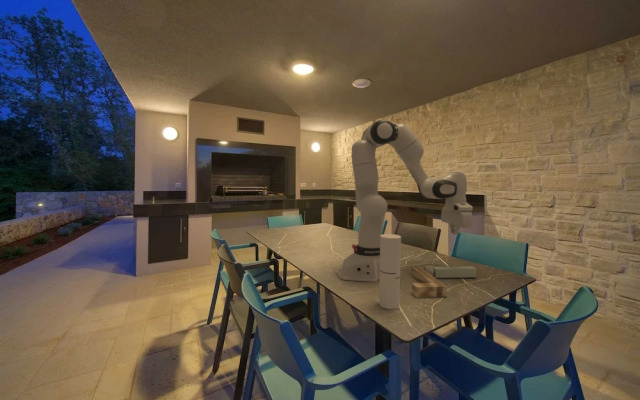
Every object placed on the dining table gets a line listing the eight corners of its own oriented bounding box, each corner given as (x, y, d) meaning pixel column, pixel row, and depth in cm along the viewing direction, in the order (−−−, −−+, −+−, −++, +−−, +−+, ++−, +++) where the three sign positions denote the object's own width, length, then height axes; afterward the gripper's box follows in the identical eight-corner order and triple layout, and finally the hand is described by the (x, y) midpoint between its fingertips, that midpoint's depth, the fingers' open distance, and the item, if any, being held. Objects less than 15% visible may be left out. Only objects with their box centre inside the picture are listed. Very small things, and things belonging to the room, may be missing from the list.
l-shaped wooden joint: (415, 297, 97) (416, 287, 97) (394, 274, 121) (395, 266, 121) (448, 296, 98) (448, 286, 98) (421, 274, 122) (421, 266, 122)
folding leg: (427, 278, 116) (427, 267, 116) (424, 275, 120) (424, 265, 119) (476, 277, 117) (476, 267, 117) (471, 275, 121) (471, 264, 120)
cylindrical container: (376, 300, 95) (377, 234, 93) (395, 299, 96) (396, 233, 94) (382, 309, 88) (384, 238, 86) (402, 308, 89) (404, 238, 87)
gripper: (438, 203, 133) (437, 230, 134) (461, 207, 113) (460, 238, 114) (449, 203, 133) (449, 229, 134) (475, 207, 113) (474, 238, 114)
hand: (454, 233), depth 124 cm, fingers closed
